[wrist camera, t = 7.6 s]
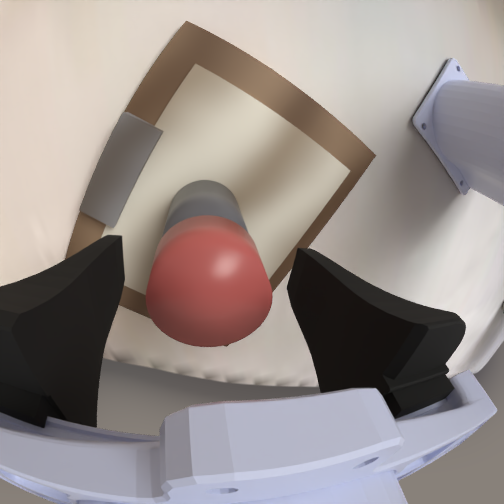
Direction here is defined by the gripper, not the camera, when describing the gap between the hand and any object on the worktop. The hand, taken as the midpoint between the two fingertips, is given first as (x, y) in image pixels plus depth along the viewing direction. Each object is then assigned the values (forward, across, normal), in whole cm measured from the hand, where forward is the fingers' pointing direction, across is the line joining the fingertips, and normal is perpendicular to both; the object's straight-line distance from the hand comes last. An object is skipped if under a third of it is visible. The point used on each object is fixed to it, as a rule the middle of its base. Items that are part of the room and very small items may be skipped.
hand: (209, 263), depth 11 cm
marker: (+6, 0, 0) cm, 6 cm away
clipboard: (+6, 0, 0) cm, 6 cm away
